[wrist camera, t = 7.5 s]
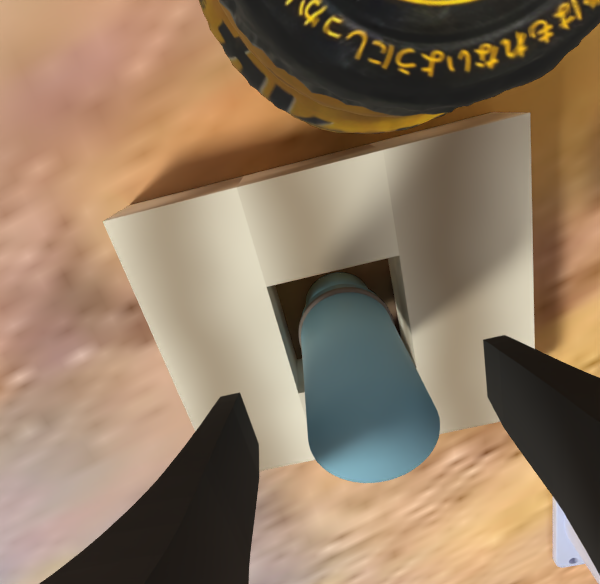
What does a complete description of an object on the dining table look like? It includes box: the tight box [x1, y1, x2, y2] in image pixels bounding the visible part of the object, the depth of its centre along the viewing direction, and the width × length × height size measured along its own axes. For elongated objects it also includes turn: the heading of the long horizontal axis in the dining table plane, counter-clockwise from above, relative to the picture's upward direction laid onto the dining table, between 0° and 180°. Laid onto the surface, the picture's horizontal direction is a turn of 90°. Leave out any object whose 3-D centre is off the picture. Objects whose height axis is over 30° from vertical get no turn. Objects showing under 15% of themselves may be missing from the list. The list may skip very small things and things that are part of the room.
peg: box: [299, 272, 440, 483], centre depth 14 cm, size 4×4×8 cm
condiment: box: [199, 0, 600, 134], centre depth 9 cm, size 7×8×12 cm
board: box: [103, 112, 535, 471], centre depth 17 cm, size 14×12×2 cm
